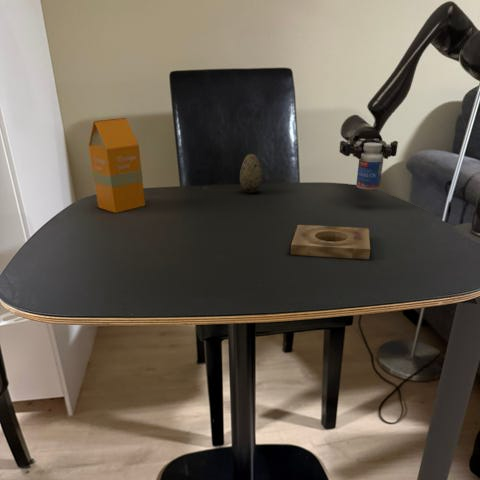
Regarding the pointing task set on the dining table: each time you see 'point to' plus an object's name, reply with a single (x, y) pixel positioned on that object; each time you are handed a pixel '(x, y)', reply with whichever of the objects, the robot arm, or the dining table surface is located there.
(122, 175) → the orange juice
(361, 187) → the pill bottle
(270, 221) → the dining table surface
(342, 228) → the pad
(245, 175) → the decorative egg
